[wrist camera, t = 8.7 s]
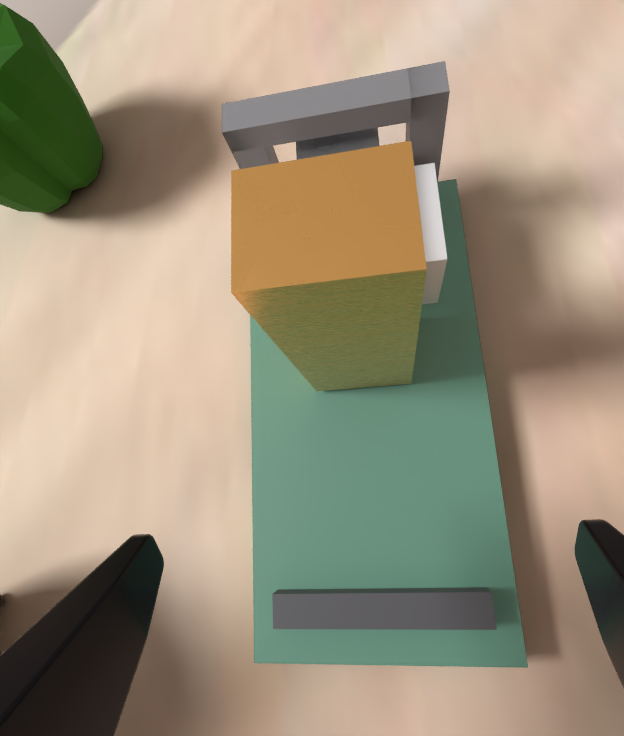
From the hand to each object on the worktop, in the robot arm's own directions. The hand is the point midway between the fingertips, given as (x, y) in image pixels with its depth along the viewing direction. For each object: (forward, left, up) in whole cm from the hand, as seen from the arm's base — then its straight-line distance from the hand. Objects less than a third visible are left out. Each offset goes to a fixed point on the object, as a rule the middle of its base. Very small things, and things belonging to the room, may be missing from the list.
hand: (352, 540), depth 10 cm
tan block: (+9, -5, -9) cm, 14 cm away
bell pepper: (+26, +5, -10) cm, 28 cm away
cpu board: (+4, -2, -10) cm, 11 cm away
